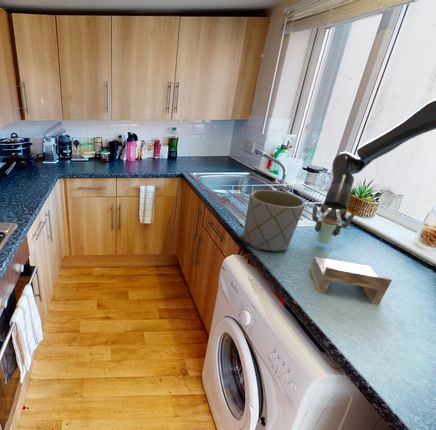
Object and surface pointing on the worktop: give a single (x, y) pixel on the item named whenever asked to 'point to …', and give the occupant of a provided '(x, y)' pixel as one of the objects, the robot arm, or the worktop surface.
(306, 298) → the worktop surface
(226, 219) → the worktop surface
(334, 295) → the worktop surface
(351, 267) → the wooden riser stand
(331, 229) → the jar
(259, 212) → the planter
